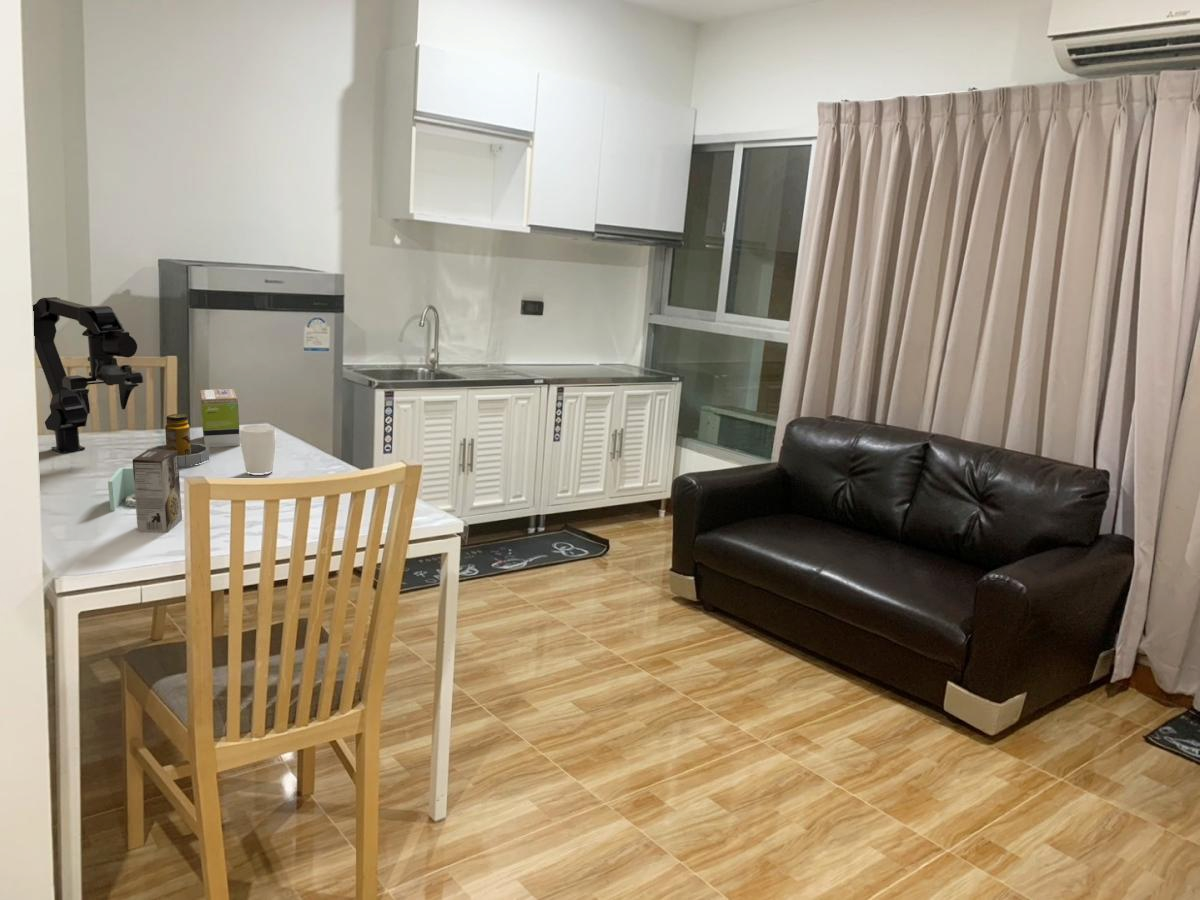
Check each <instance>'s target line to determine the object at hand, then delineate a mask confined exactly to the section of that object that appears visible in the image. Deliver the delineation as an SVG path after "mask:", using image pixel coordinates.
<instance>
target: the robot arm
mask: <svg viewBox="0 0 1200 900" xmlns="http://www.w3.org/2000/svg"><path fill="white" fill-rule="evenodd" d="M32 306H33V311H34V336H35V348H34V349H35V352H36V355H37V358H38V360H39V363H40V366H41V369H42V372H43V374H44V376H45V380H46V382H47V385H48V387H49V391H50V392H51V396H52V397H51V400H50V402H49V403H50V404H49V409H50V414H49V415H48V417H47V418H46V420H45V421H44V425H45V428H46V430H48V431H53V432H54V435H55V436H54V437H55V446H51V450H53V451H56V452H58V453H60V452H63V453H68V452H75V451H81V450H82V451H83V450H85V449H86V447H85V446H83V445H81V444H80V442H81V441H80V434H79V428H82V427H86V426H87V421H88V415H90V413H91V408H90V407H91V406H90V400H89V391H90V388H89V389H88V388H87V387H88V386H89V385H100V384H105V385H106V386H115V385H118V391H119V392H118V393H119V402H120V407H121V409H122V410H126V407H127V404H128V400H129V398H130V394H131V393H132V391H133V390H134V389H135V387H139V384H142V383H144V376H143V373H141V372H140V371H135V370H133V369H132V366H131V365H130V364H123V365H118V361H117V357H118V358H119V357H121V358H126V359H128V358H131V357H133V356H135V354H136V353H137V351H138V343H137V341H136V340H135V338H134V337H133V336H131V335H130V331H127V330H125V329H124V326H123V324H122V323H121V322H120V320H119V318H118V316H117V314H116V313H115V312H114V310H113V308H112V307H110V306H109V305H84V304H80V303H76V302H72V301H68V300H65V299H61V298H60V297H56V296H55V297H54V296H53V297H42V298H40V299H39V298H38V300H37V301H36V303H34V304H33V305H32ZM60 317H64V318H67V319H70V320H74V321H77V322H78V323H79V324H78V325H80V326H83V327H84V328H86V329H85V330H83V332H82V334H81V335H82V336H84V337H87V341H88V342H87V343H88V354H89V355H88V356H87V361H88V362H89V367H90V372H88V376H89V377H86V376H82V375H78V374H77V375H67V373H66V370H65V367H64V364H63V363H62V360H61V357H60V354H59V352H58V349H57V347H56V344H55V338H56V334H57V327H56V324H58V322H59V321H60V319H61V318H60Z"/></svg>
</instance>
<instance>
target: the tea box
mask: <svg viewBox="0 0 1200 900" xmlns="http://www.w3.org/2000/svg"><path fill="white" fill-rule="evenodd" d="M199 391H200V393H199V396H200V409H201V411H200V412H201V423H202V424H201V425H202V427H201V428H202V435H203V445H205V446H208V447H209V448H220V447H223V448H224V447H237V446H239V447H240V446H241V443H240V417H239V402H238V397H237V394H236V392H235V389H234V388H226V389H225V388H221V389H217V388H216V389H200V390H199Z"/></svg>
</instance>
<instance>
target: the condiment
mask: <svg viewBox="0 0 1200 900" xmlns="http://www.w3.org/2000/svg"><path fill="white" fill-rule="evenodd" d="M165 419H166V422H165V423H166V425H165V427H164V429H165V430H164V431H165V444H166V448H167V450H177V454H178V456H185V455H191V447H190V446H191V444H190V443H191V431H190V429H191V428H190V424H188V423H189V421H188V416H187V415H186V414H182V413H174V414H173V413H172V414H168V415H167V416H166V417H165Z"/></svg>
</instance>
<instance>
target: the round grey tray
mask: <svg viewBox="0 0 1200 900" xmlns="http://www.w3.org/2000/svg"><path fill="white" fill-rule="evenodd" d="M190 444H191V446H190V447H191V455H185V456H178V467H179V468H187V467H186V466H190V467H192V466H191V465H195V464H199V463H202V462H204V461H207V460H209V461H210V459H209V456H210V447H208V446H205V445H204V444H202V443H191V442H190ZM148 449H162V450H167V448H166V443H165V444H160V445H154V446H151V447H149V448H147V449H146V451H147V450H148Z"/></svg>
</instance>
